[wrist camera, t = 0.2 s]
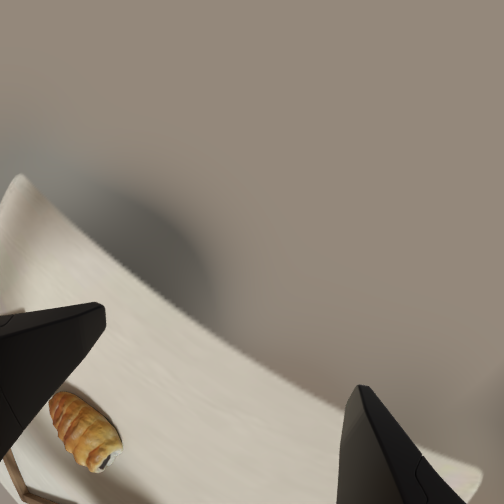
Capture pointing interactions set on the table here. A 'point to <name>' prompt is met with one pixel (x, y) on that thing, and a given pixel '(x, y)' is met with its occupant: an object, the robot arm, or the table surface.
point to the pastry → (84, 432)
